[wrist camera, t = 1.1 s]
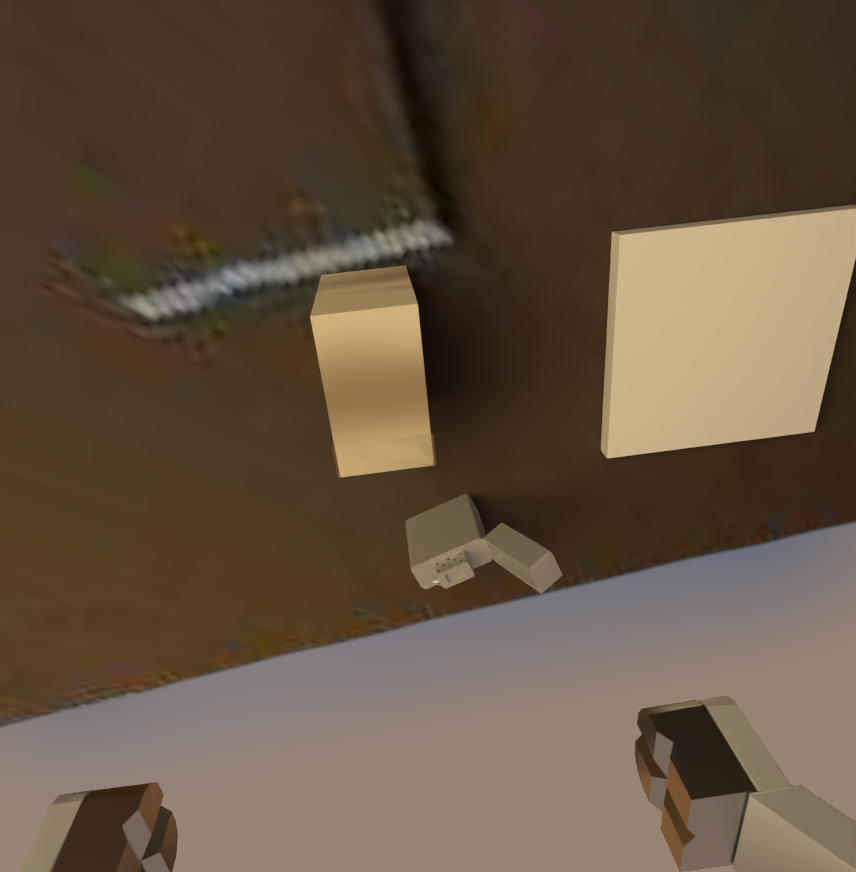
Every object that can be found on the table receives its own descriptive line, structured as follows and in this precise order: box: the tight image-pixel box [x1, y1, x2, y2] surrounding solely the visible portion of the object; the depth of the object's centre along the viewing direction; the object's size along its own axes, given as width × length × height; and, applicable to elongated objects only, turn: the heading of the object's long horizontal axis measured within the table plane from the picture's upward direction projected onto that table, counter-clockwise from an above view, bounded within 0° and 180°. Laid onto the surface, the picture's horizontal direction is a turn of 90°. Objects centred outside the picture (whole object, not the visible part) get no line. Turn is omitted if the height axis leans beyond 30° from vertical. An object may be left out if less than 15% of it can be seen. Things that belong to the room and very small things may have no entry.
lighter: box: [406, 494, 562, 594], centre depth 32 cm, size 7×2×8 cm, turn 115°
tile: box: [601, 205, 856, 458], centre depth 31 cm, size 12×12×1 cm
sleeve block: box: [310, 266, 436, 478], centre depth 27 cm, size 7×4×7 cm, turn 5°
